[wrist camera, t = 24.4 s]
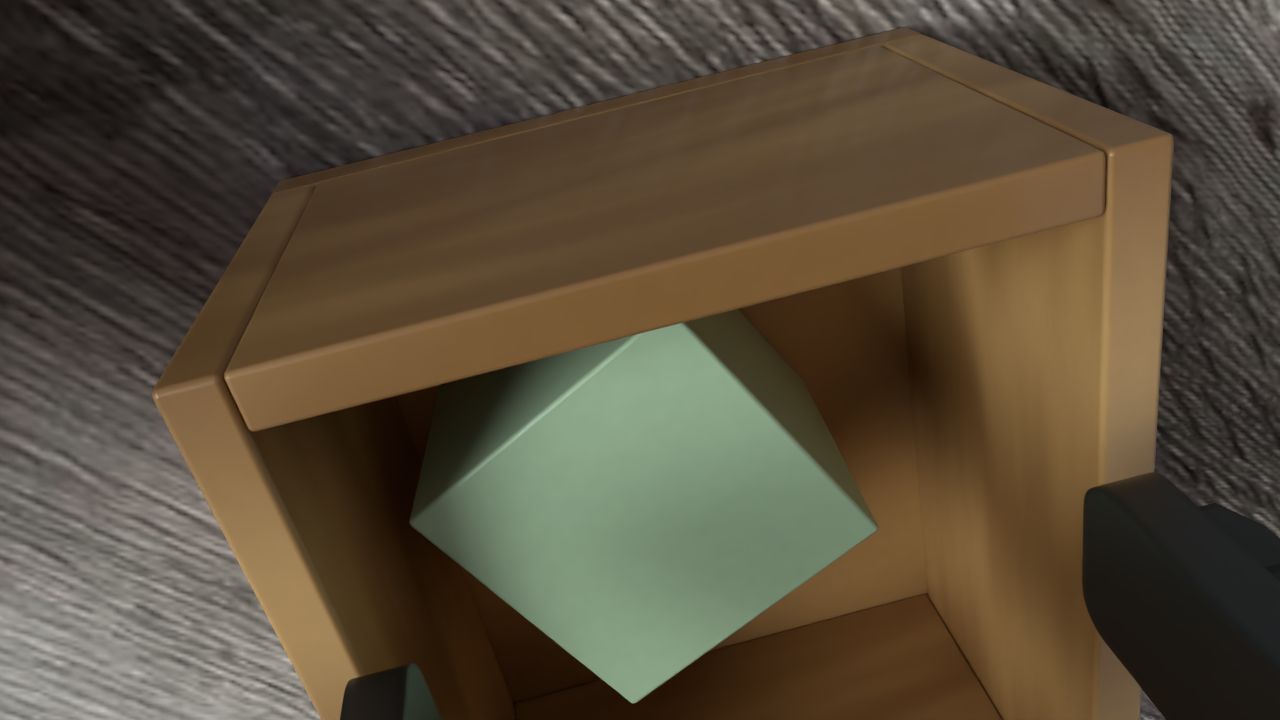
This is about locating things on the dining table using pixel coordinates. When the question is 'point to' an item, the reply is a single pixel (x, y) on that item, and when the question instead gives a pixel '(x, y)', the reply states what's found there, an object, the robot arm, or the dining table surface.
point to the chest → (692, 289)
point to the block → (640, 492)
